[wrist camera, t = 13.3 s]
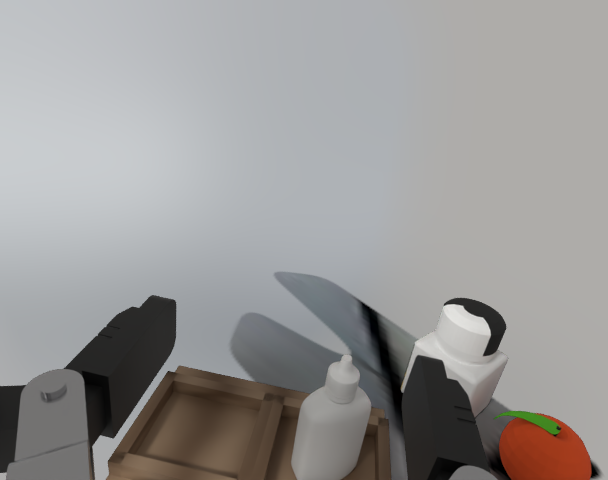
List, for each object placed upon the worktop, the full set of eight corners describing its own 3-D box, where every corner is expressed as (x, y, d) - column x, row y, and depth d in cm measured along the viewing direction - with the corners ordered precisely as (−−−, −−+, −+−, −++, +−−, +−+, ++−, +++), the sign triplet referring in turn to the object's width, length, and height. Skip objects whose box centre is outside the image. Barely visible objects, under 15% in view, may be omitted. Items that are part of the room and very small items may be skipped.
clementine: (468, 477, 36) (493, 421, 33) (487, 429, 41) (510, 377, 38) (568, 540, 32) (607, 483, 29) (574, 478, 37) (608, 424, 34)
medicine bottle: (434, 367, 49) (462, 284, 44) (488, 405, 44) (527, 317, 39) (398, 391, 45) (425, 301, 40) (455, 437, 40) (494, 342, 35)
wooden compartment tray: (89, 514, 29) (86, 493, 28) (179, 372, 43) (179, 354, 42) (387, 590, 27) (395, 570, 26) (382, 416, 41) (387, 399, 40)
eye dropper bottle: (294, 438, 36) (312, 332, 31) (355, 449, 36) (383, 344, 31) (287, 484, 32) (306, 372, 27) (356, 497, 32) (388, 386, 27)
